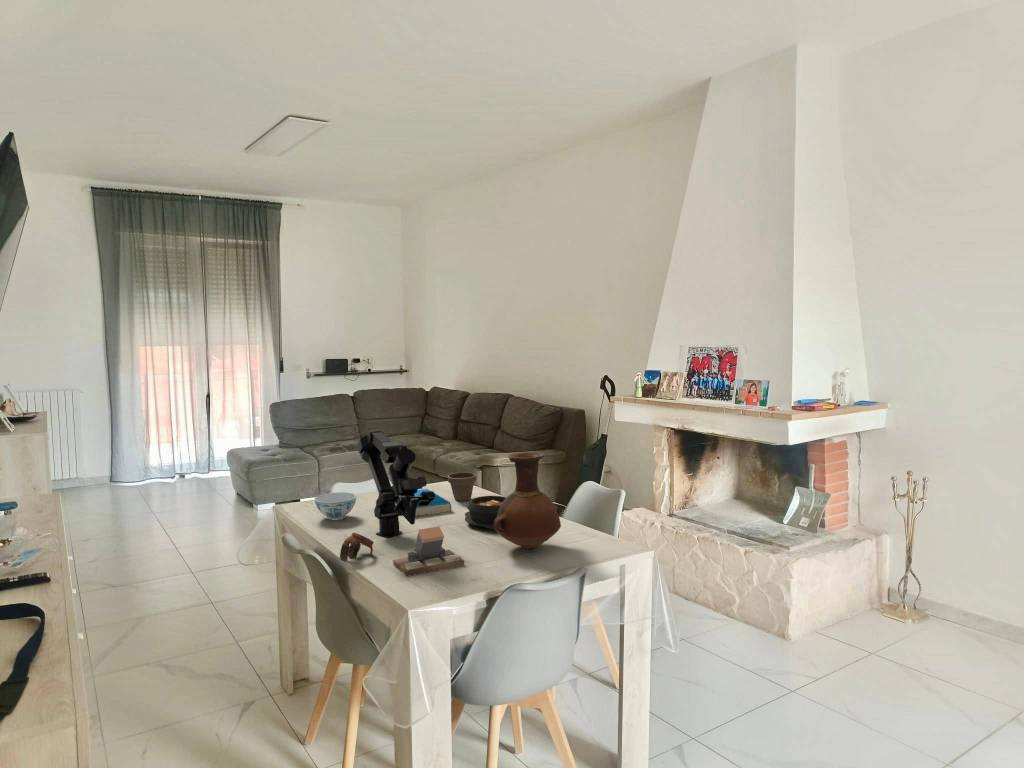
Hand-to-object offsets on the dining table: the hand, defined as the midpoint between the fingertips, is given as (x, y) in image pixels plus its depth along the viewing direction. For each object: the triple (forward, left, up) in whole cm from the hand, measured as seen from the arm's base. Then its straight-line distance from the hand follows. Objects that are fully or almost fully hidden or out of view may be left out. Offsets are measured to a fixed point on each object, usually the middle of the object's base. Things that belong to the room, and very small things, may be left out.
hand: (413, 523), depth 217 cm
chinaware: (-52, +11, -9) cm, 54 cm away
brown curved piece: (-12, -13, -10) cm, 20 cm away
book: (-38, +40, -10) cm, 56 cm away
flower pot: (-32, +58, -9) cm, 67 cm away
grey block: (+10, -4, -7) cm, 13 cm away
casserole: (-1, +39, -10) cm, 40 cm away
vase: (+26, +25, -9) cm, 37 cm away
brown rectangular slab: (+11, -5, -9) cm, 15 cm away
